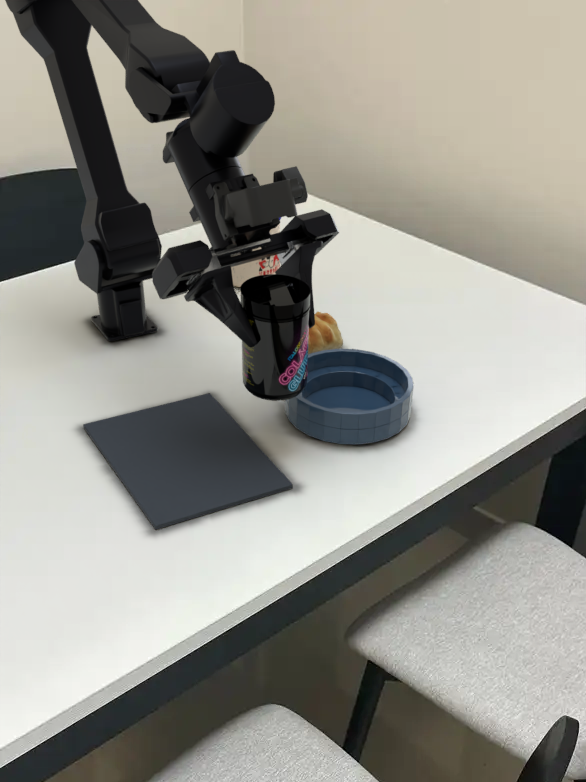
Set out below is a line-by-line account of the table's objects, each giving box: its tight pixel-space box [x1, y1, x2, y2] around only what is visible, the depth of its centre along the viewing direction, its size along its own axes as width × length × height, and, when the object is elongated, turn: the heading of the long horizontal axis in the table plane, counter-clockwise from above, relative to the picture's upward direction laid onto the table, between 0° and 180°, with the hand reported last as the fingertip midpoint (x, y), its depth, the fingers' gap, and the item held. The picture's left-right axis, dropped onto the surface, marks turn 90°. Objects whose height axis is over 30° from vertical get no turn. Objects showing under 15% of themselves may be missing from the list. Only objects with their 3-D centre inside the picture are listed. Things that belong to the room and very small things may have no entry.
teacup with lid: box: [231, 217, 282, 288], centre depth 131 cm, size 12×9×12 cm
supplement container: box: [239, 274, 310, 402], centre depth 95 cm, size 7×7×10 cm
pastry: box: [308, 311, 344, 354], centre depth 118 cm, size 9×7×4 cm
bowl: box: [284, 348, 415, 445], centre depth 108 cm, size 14×14×4 cm
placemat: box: [82, 392, 294, 530], centre depth 101 cm, size 20×15×1 cm
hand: (283, 336), depth 94 cm, fingers closed on supplement container, 7 cm apart
